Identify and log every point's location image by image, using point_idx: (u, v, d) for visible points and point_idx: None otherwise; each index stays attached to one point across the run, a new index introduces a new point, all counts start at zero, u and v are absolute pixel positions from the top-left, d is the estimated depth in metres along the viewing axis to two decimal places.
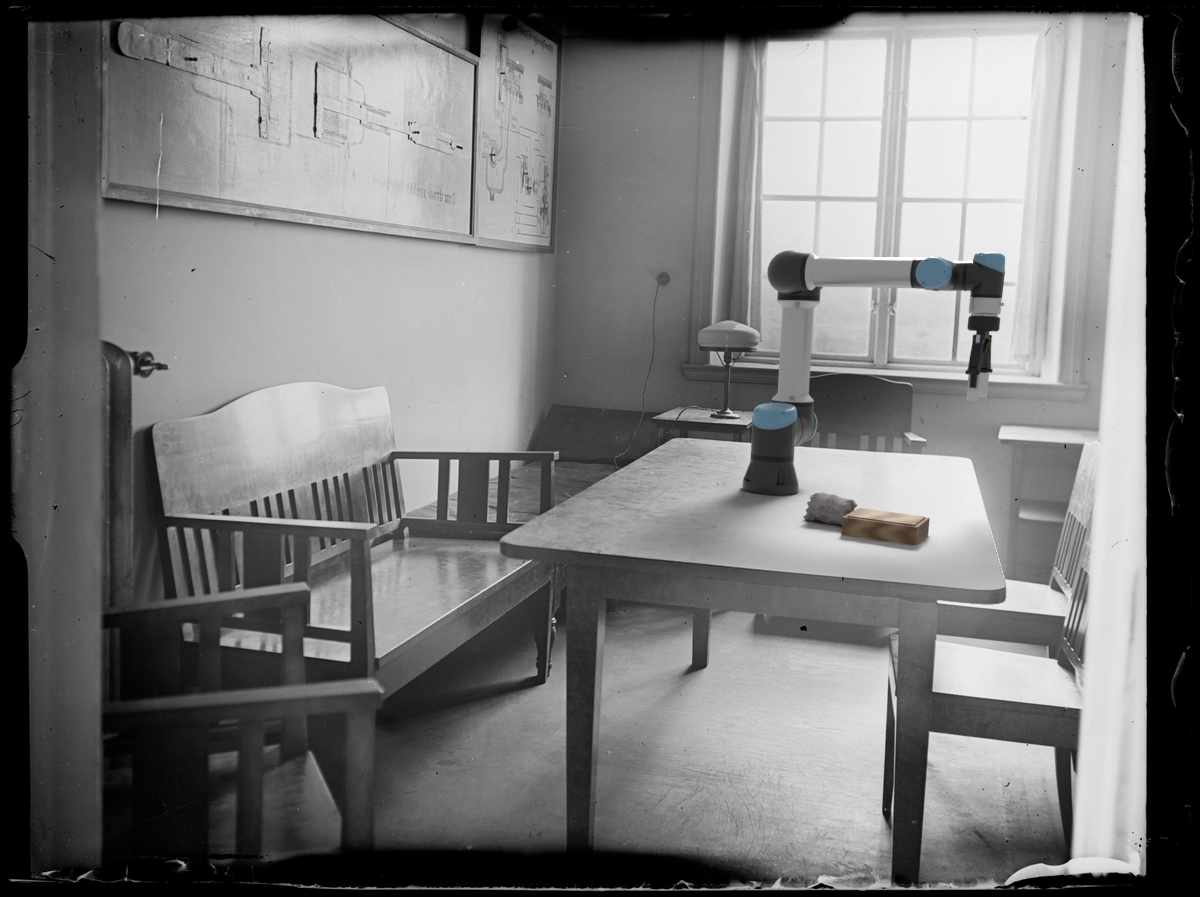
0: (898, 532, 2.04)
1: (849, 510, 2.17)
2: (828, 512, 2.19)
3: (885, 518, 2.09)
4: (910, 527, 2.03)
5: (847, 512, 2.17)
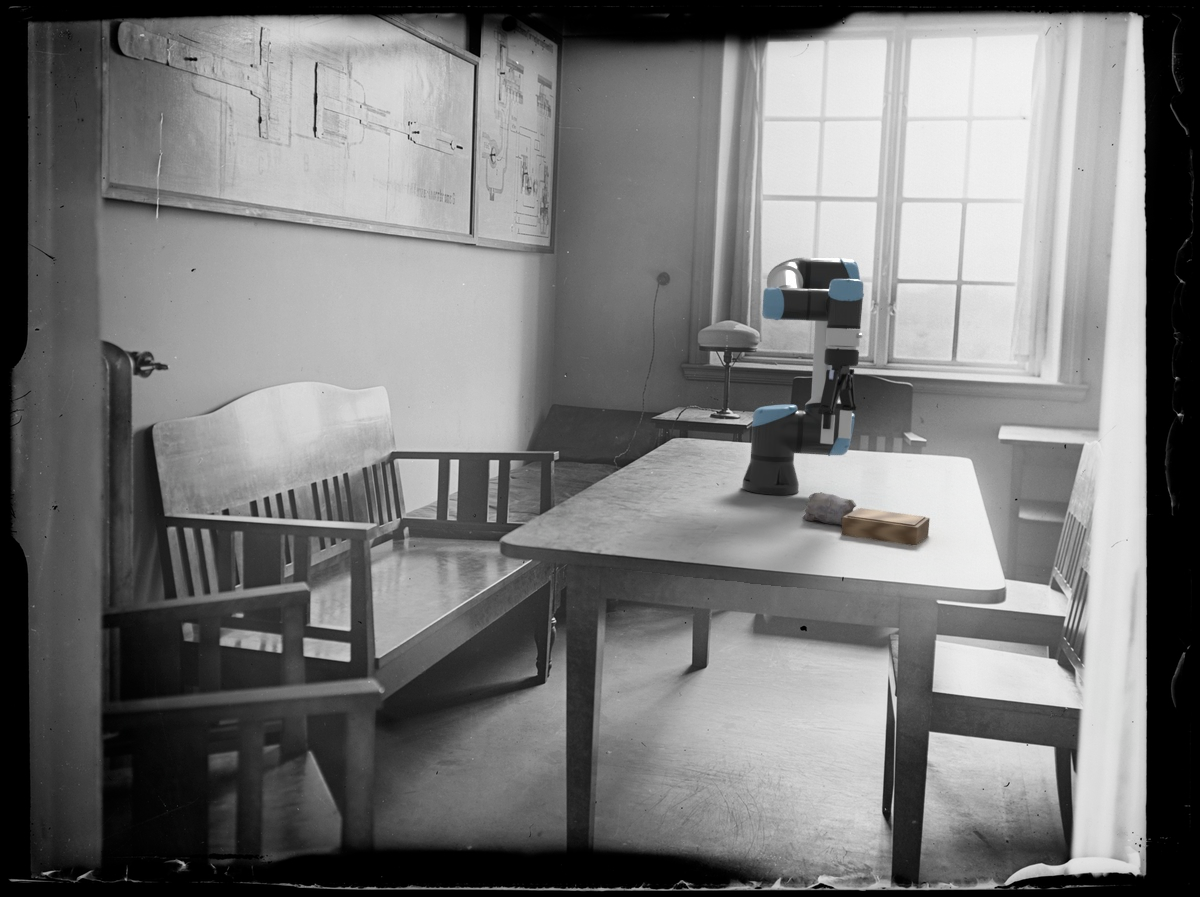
0: (898, 532, 2.04)
1: (848, 510, 2.17)
2: (826, 512, 2.19)
3: (885, 518, 2.09)
4: (910, 527, 2.03)
5: (846, 512, 2.17)
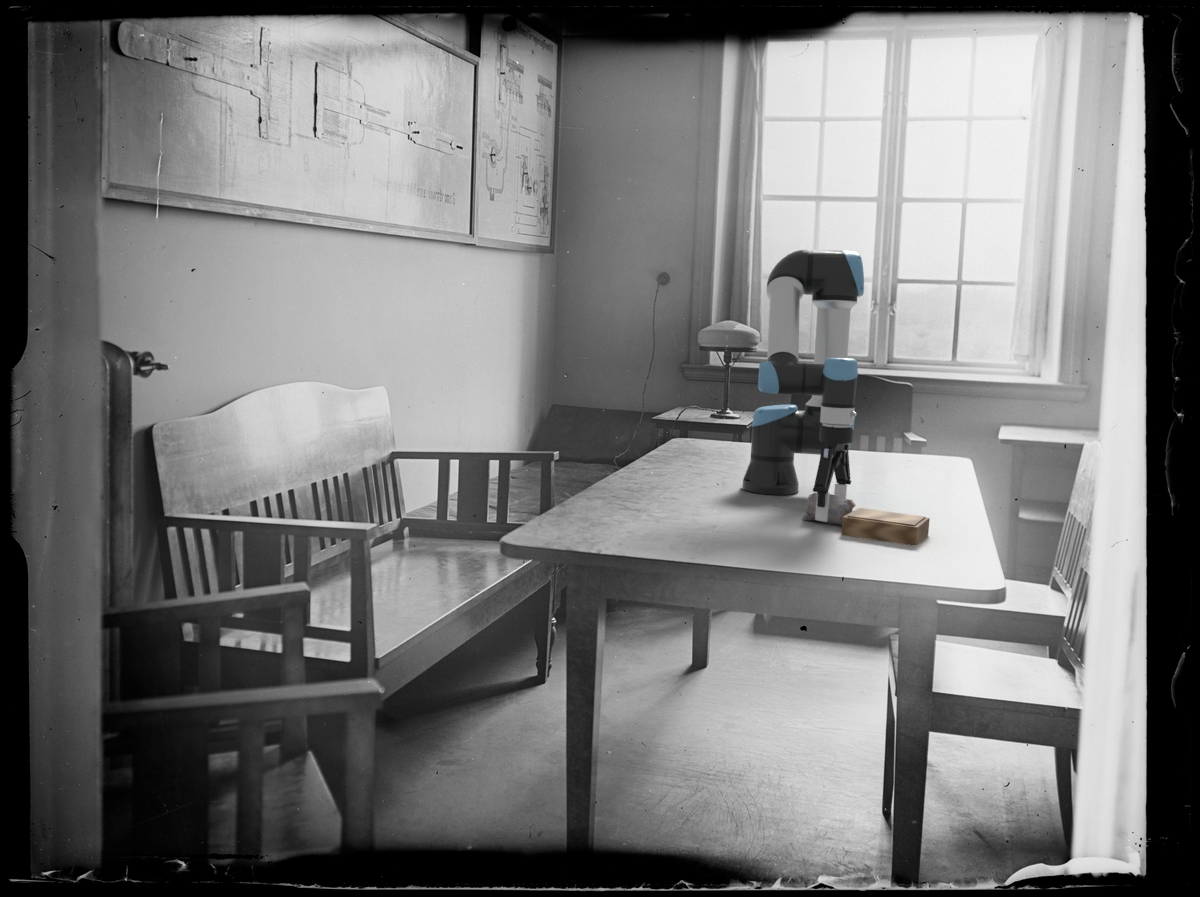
0: (898, 532, 2.04)
1: (847, 510, 2.17)
2: None
3: (885, 518, 2.09)
4: (910, 527, 2.03)
5: (845, 512, 2.17)
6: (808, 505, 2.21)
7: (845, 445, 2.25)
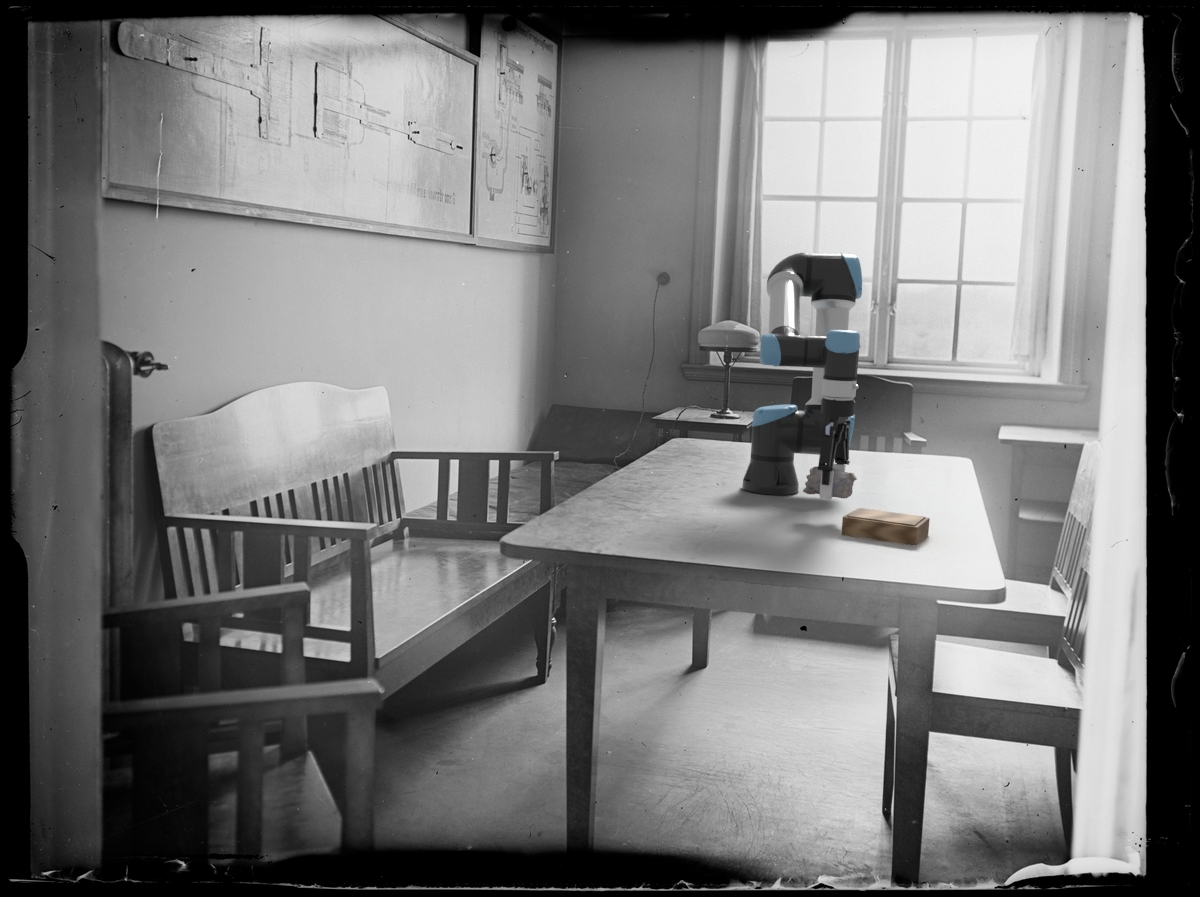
0: (898, 532, 2.04)
1: (848, 483, 2.17)
2: None
3: (885, 518, 2.09)
4: (910, 527, 2.03)
5: (846, 485, 2.17)
6: (809, 479, 2.21)
7: (847, 421, 2.25)
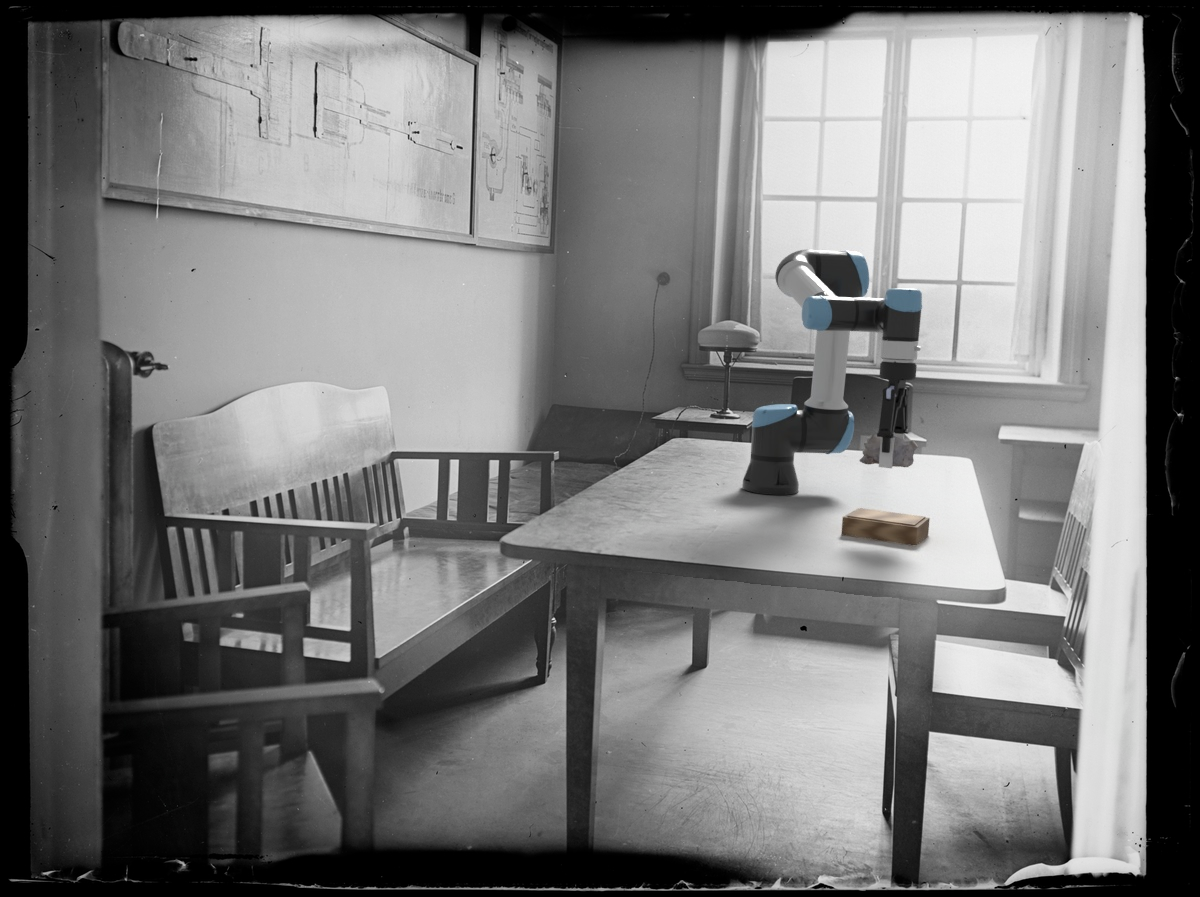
0: (898, 532, 2.04)
1: (910, 451, 2.04)
2: None
3: (885, 518, 2.09)
4: (910, 527, 2.03)
5: (908, 453, 2.04)
6: (867, 447, 2.08)
7: (906, 387, 2.12)
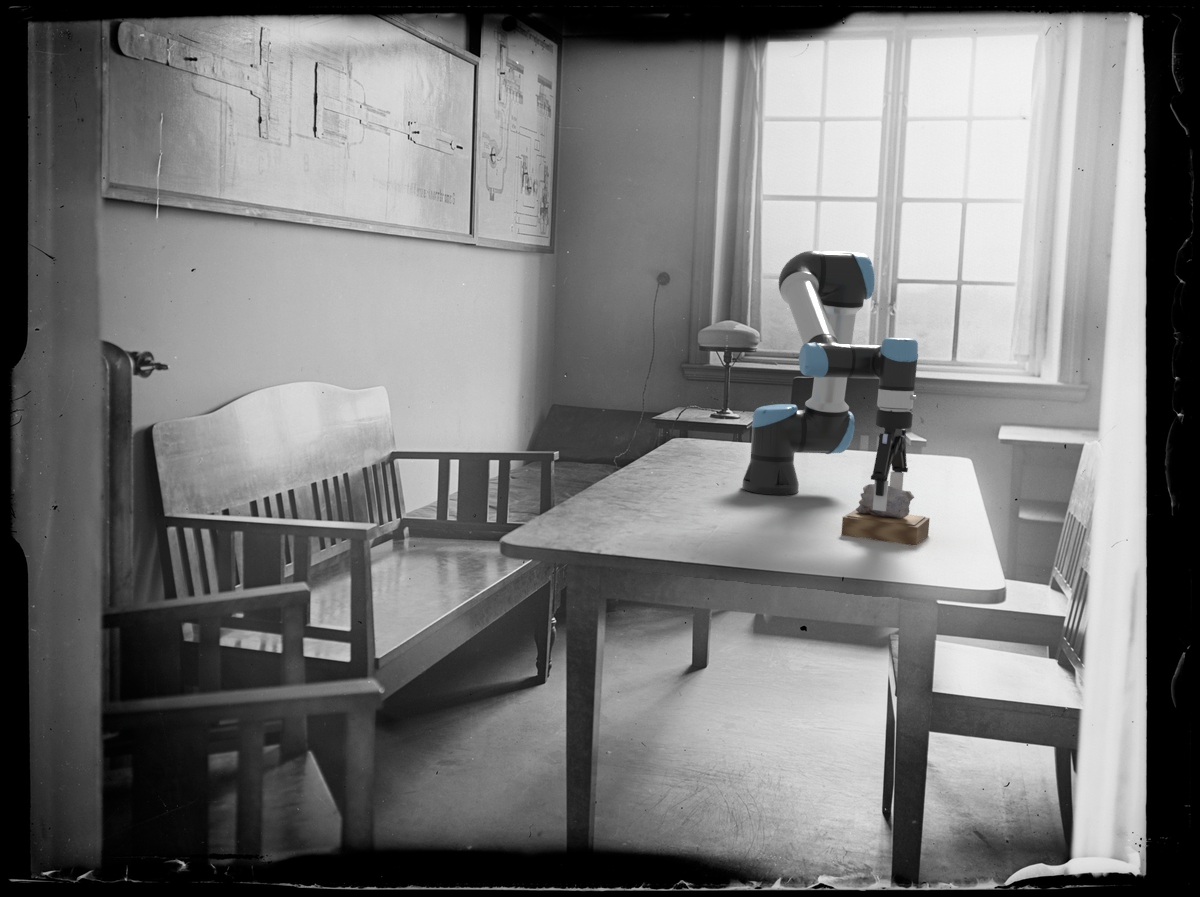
0: (898, 532, 2.04)
1: (906, 502, 2.05)
2: None
3: (885, 518, 2.09)
4: (910, 527, 2.03)
5: (904, 504, 2.06)
6: (864, 497, 2.10)
7: (902, 430, 2.13)
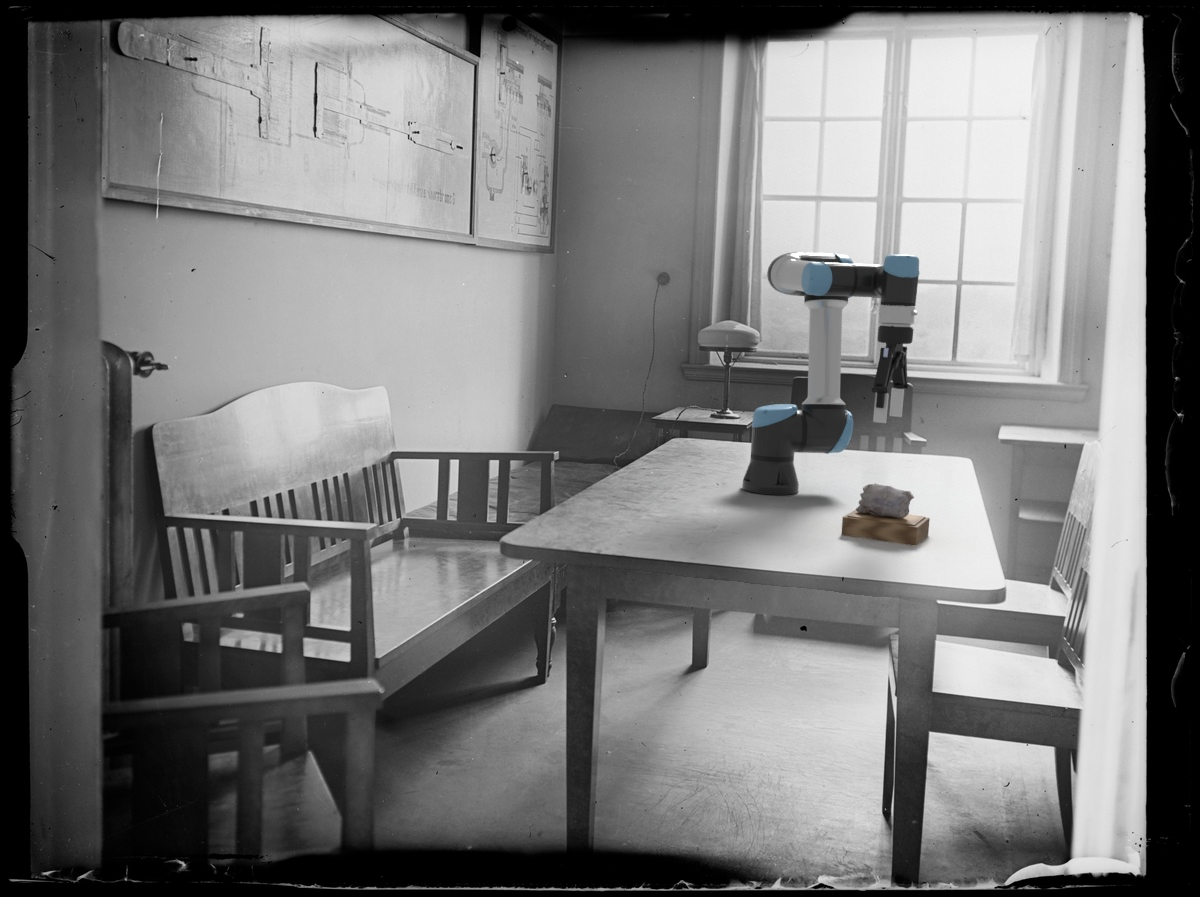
0: (898, 532, 2.04)
1: (906, 502, 2.05)
2: (883, 504, 2.08)
3: (885, 518, 2.09)
4: (910, 527, 2.03)
5: (904, 504, 2.06)
6: (863, 497, 2.10)
7: (903, 347, 2.19)
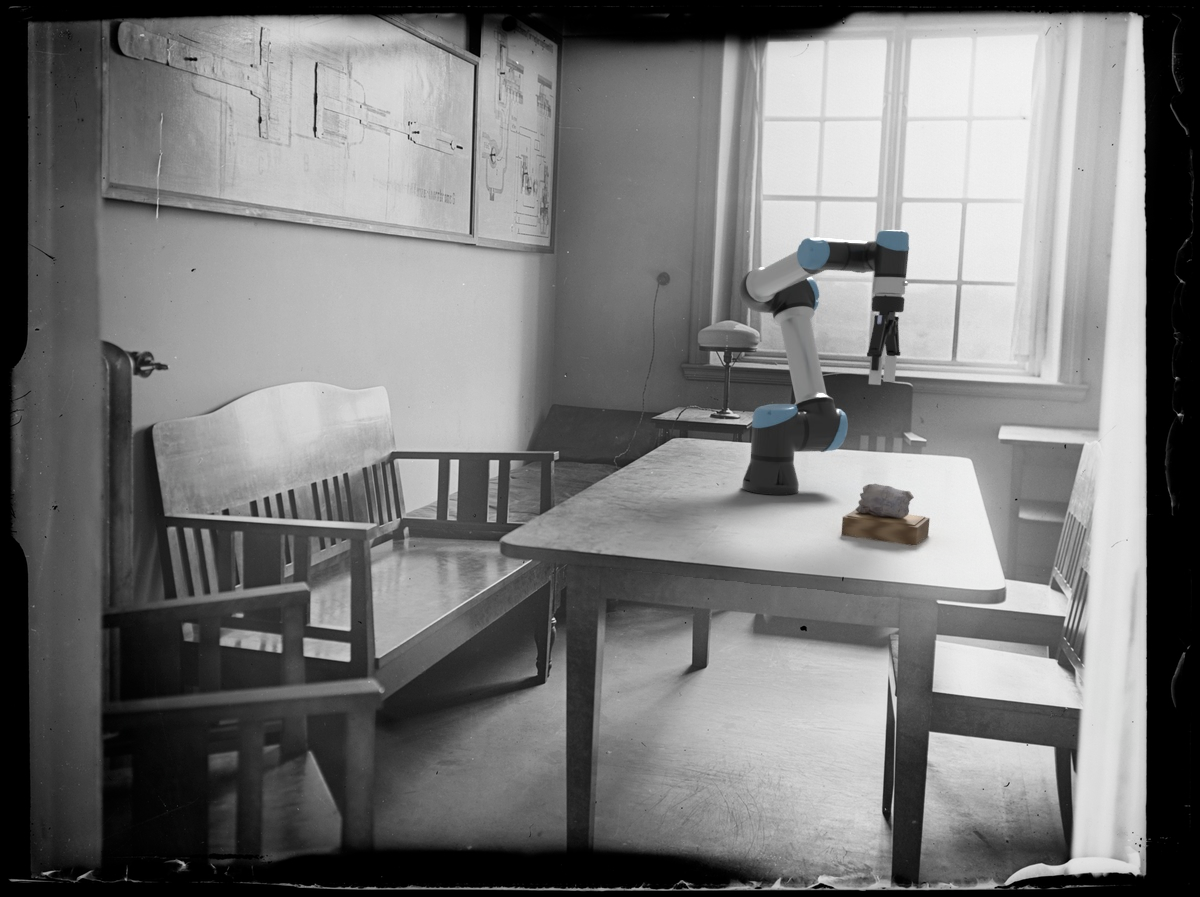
0: (898, 532, 2.04)
1: (905, 502, 2.05)
2: (882, 504, 2.08)
3: (885, 518, 2.09)
4: (910, 527, 2.03)
5: (903, 504, 2.06)
6: (863, 497, 2.10)
7: (895, 317, 2.38)
